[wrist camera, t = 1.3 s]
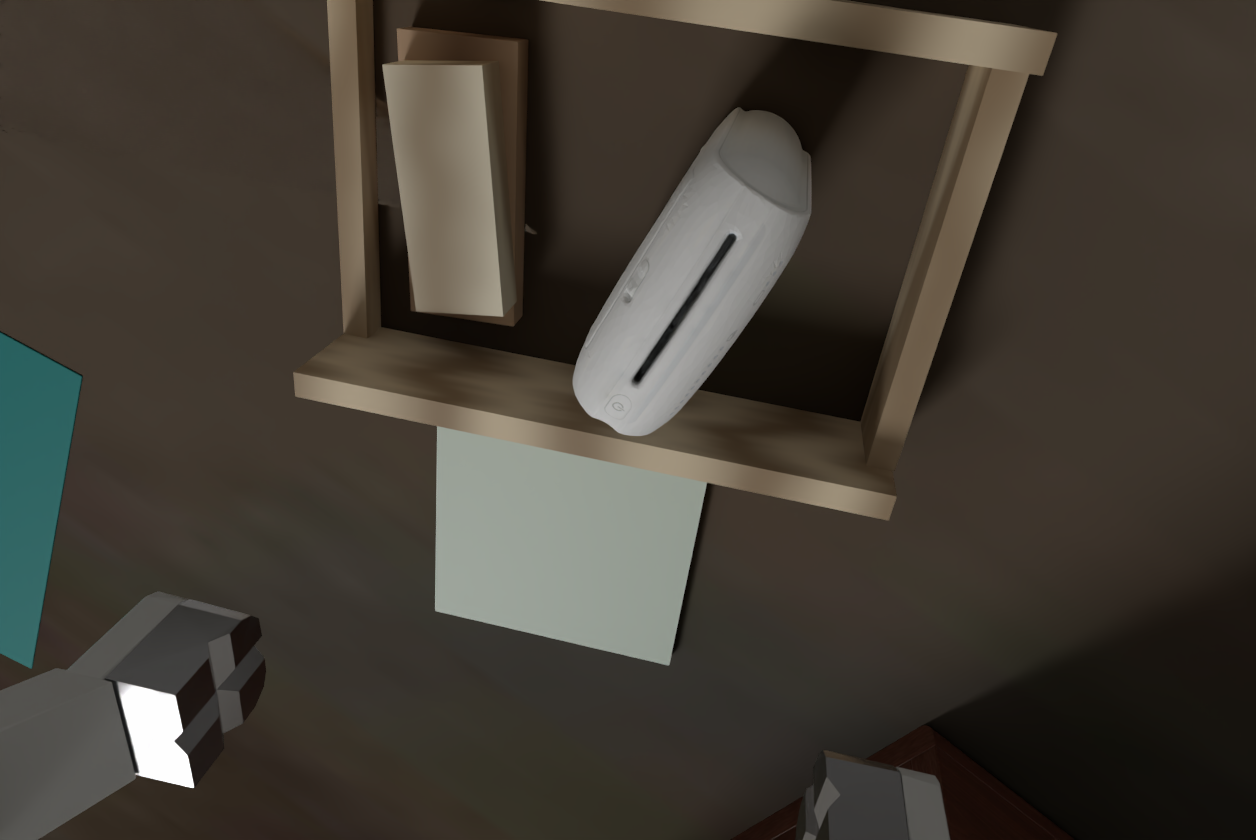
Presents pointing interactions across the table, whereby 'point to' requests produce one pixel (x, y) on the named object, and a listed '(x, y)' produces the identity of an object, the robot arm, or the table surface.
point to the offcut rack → (709, 422)
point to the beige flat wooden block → (514, 106)
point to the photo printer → (697, 274)
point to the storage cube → (943, 796)
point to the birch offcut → (453, 184)
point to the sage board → (563, 544)
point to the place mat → (30, 484)
